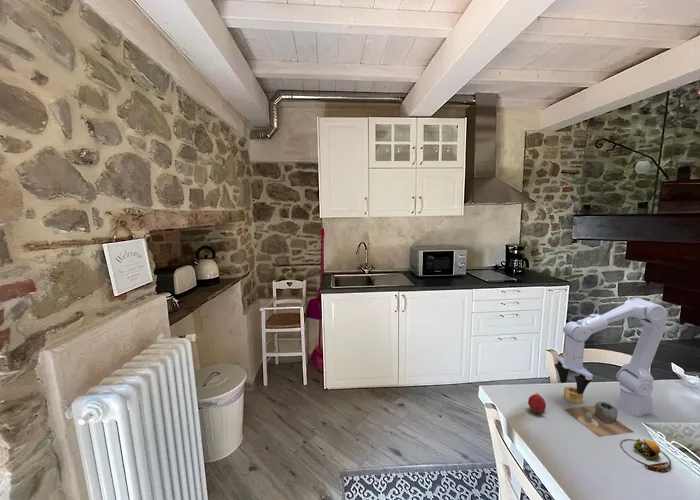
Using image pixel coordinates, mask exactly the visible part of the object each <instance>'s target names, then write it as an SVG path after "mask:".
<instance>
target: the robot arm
mask: <svg viewBox="0 0 700 500" xmlns="http://www.w3.org/2000/svg"><path fill="white" fill-rule="evenodd" d="M668 315H669V312H668V311H667V309H666V308H665V307H664V306H663V305H661V304H658V303H654V302H651V301H648V300H645V299H643V298H641V297H632V298H631V299H627V300H625V302H624V303H623V304H622V305H620V306H617V307H615V308H613V309H611V310H609V311H607V312H605V313H603V314H597V313H592V314H591V313H590V314H589V315H588V316H587V317H585V318H582V319H578V320H577V321H568V322H567V323H566V324H565V325H564V327H562V331H563V333H564V334H565V346H564V347H565V348H564V357H562V356H561V355H558V356H555V362H556V363H554V367H555V369H556V372H557V373H558V378H559V381H560V382H559V383H561V384H565V383H567V382H568V381H567V380H568V375H569V371H570V370H571V371H573V372H574V373H577V374H578V375H574V380H575V382H576V383H575V384H576V388H577V393H578V394H583V395H584V393H585V390H586V388H587V386H588V385H589V384H590V383H591V382H592V381H593V377H594V375H593V374H592V373H591V372H589V370H588V369H586V367H584V353H585V341H587V340H588V339H589V337H590V336H592V335H593V334H595V333H598V332H600V331H602V330H605V329H607V327H608V325H609V324H612V323H615V322H617V321H621V320H623V319H627V318H631V317H632V318H636V319H638V320H639V321H640V322H641V323H642V325H643V326H642V329H641V332H640V335H639V337H638V340H637V342H636V346H635V347H634V351H633V353H632V355H631V359H630V360H629V362H628V363H626V364H625V363H624V364H623V365H622V366H621V368H620V370H618V371H617V373H616V377H615V378H616V380H617V382H619V386H620V388H619V389H620V390H619V400H618V408H619V410H621V411H623V413H626V414H629V415H632V416H636V417H643V416H644V415H650V414H652V410H653V403H654V399H653V396H652V395H651V394H652V393H653V390H654V385H653V384H654V380H655V379H654V377H653V375H652V374H651V372H650V368H651V366H652V363H653V361H654V358H655V355H656V353H657V350H658V347H659V346H660V345H659V344H660V342H661V340H662V338H663V336H664V335H663V334H664V332H665V330H666V329H665V328H666V323H667V317H668Z"/></svg>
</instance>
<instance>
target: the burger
mask: <svg viewBox="0 0 700 500" xmlns="http://www.w3.org/2000/svg"><path fill="white" fill-rule="evenodd" d="M658 440H659V438H657V439H656V440H655V441H653V440H651V439H647V438H643V439H642V441H641V439H640V438H638V439H631V438H626V439H623V440H621V441H620V447H621V448H622V450H623V451H624V452H626V450H625V448H623V443H625V442H634V443H633V449H634V451H635V453H636V454H638V455H639V456H641V457H643V458H644V459H646V460H647V461H649V462H653V461H654V460H658V459H660V455H659V454H662V455H664V457H665V458H666V459H667V461H666V462H660V463H652V464H648V463H645V462H642V461H640V460H638V459H635V458H634V457H633V456H631V457H632V459H634V460H635V461H636V462H638V463H640V464H643V465H646V467H647V469H648V470H649V471H651V472H658V471H659V470H661V472H663V473H667V472H669V471H671V469H672V460H671V459H670V457H669V456H668V455H667V454H666V453H665V452H663V451H662V450H661V448H660V446H659V444H657V443H656V442H657V441H658ZM626 454H627V455H629V453H627V452H626Z"/></svg>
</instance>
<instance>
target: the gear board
mask: <svg viewBox="0 0 700 500" xmlns="http://www.w3.org/2000/svg"><path fill="white" fill-rule="evenodd" d="M562 410H563V411H565V412H566V413H567V414H568V415H570V416H571V417H572V418H573V419H575V420H576V421H577V422H578V423H580V424H581V425H583V426H584V427H585V428H586V429H588V430H589V431H590V432H592V433H593V434H594V435H595V436H597V438H598V437H599V438H600V437H609V436H616V435H622V434H630V433H634V431H633V430H632V429H631V428H629V427H628V426H626V425H625V424H623V423H622V422H620V421H619V420H618V419H617V420H616V423H613V424H608V423H607V424H605V423H604V422H601V421H600V420H599V419H597V418H596V417H595V416H594V414H595V405H587V406H578V407H569V408H563V409H562Z"/></svg>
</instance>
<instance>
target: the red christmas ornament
mask: <svg viewBox="0 0 700 500" xmlns="http://www.w3.org/2000/svg"><path fill="white" fill-rule="evenodd" d="M527 403H528V406H529V408H530V409H531V410H532V411H533V412H534V413H535V414H536V413H542V412H544V410H546V407H547V404H546V400H545V399H544V398H543V397H542V396H541V395H540V393H539V392H538V391H537V392H535V394H532V395H530V396H529V398H528V401H527Z"/></svg>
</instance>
